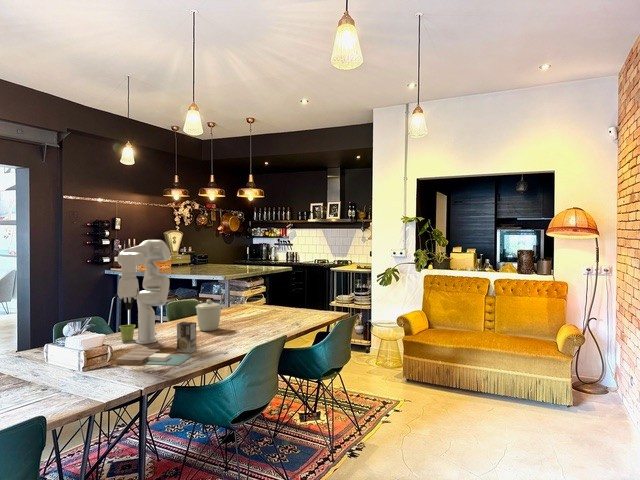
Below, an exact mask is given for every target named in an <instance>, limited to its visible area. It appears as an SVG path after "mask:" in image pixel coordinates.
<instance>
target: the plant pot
mask: <svg viewBox="0 0 640 480" xmlns="http://www.w3.org/2000/svg"><path fill="white" fill-rule="evenodd" d="M118 328H119V331H120V335H121V339H122V341H123V342H127V341H132V340H133V339H134V335H135V334H134V332H135V328H136V324H124V325H119V326H118Z"/></svg>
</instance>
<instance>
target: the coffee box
mask: <svg viewBox="0 0 640 480" xmlns="http://www.w3.org/2000/svg"><path fill="white" fill-rule="evenodd" d="M196 351H197V322H196V321H195V322H193V321H181V322H179V323H176V352H177V353H187V354H189V353H190V354H192V353H194V352H196Z"/></svg>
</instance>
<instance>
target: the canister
mask: <svg viewBox="0 0 640 480" xmlns="http://www.w3.org/2000/svg"><path fill="white" fill-rule="evenodd" d="M222 307H223V305H222V304H220V303H219V302H218V303H217V302H212V300H211V299H206V302H203V303H199V304H197V305H196V306H195V309H196V315H197V317H196V318H197V325H198V328H199V330H200V331H204V332H212V331H216V330H218V328H219V327H220V321H221V320H220V319H221V313H222Z"/></svg>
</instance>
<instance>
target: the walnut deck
mask: <svg viewBox="0 0 640 480" xmlns="http://www.w3.org/2000/svg"><path fill="white" fill-rule="evenodd" d="M154 353H161V349H149V348H148V349H147V348H135V349H133V350H131V351H129V352H126V353H125V354H123V355H121V356H118V357H117V358H115V365H134V366H135V365H136V366H142V365H145V363H147V362H148V357H149V356H151V355H153V354H154Z"/></svg>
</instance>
